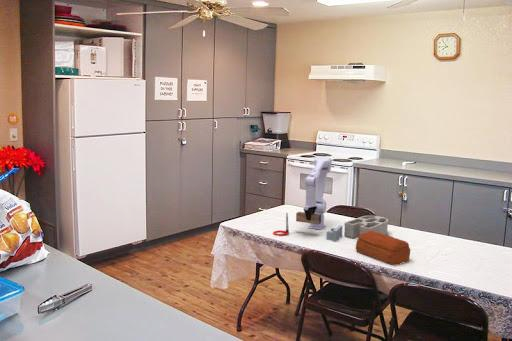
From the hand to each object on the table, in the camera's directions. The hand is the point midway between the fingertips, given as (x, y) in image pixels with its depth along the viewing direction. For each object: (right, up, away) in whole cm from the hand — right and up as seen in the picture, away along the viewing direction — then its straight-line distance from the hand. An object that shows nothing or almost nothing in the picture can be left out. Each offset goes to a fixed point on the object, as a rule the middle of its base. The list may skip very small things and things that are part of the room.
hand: (309, 219), depth 284 cm
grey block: (+14, -10, -6) cm, 18 cm away
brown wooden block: (-1, -2, +1) cm, 2 cm away
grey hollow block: (+35, -10, +2) cm, 36 cm away
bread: (+34, -16, -33) cm, 50 cm away
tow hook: (-17, -9, +1) cm, 19 cm away
